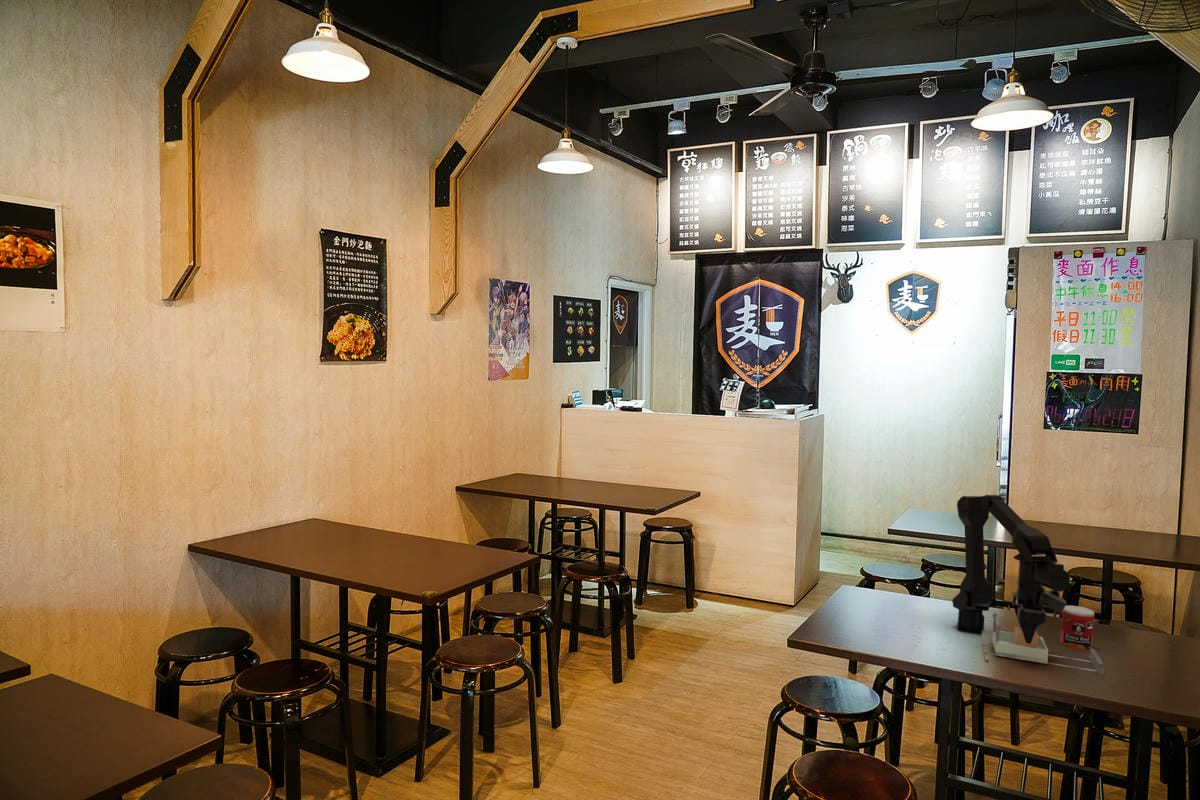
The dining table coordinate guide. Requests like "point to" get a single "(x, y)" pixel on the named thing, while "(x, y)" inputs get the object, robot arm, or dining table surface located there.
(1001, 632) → the tray with handle
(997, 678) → the dining table surface
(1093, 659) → the track
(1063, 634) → the canned food
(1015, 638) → the block
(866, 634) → the dining table surface
